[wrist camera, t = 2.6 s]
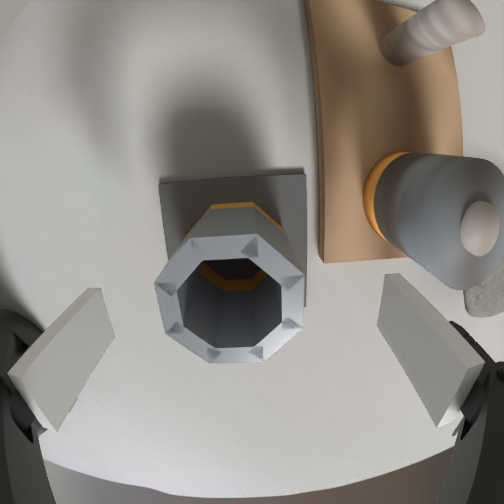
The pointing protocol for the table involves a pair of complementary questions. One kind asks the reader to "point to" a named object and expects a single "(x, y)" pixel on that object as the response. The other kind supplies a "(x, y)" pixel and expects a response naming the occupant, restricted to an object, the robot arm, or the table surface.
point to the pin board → (400, 141)
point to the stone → (487, 295)
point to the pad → (235, 191)
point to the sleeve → (232, 287)
